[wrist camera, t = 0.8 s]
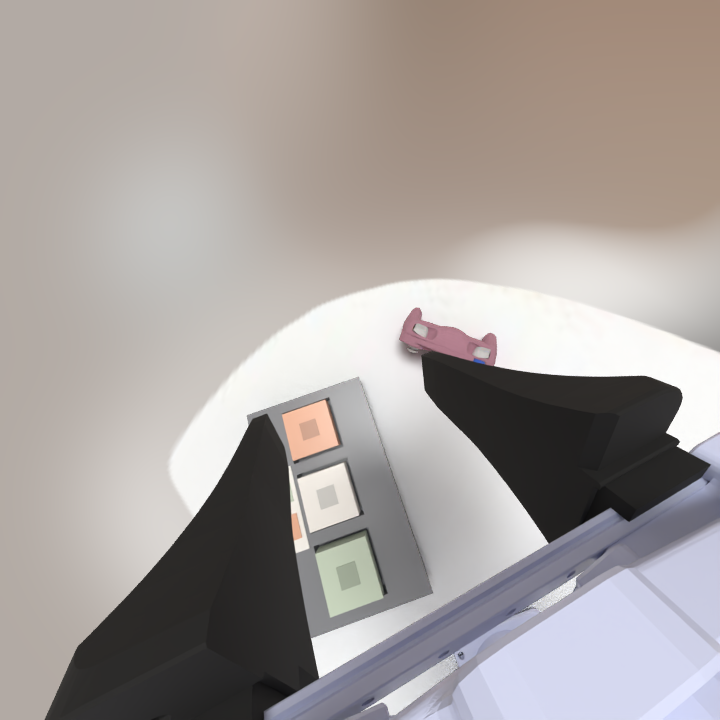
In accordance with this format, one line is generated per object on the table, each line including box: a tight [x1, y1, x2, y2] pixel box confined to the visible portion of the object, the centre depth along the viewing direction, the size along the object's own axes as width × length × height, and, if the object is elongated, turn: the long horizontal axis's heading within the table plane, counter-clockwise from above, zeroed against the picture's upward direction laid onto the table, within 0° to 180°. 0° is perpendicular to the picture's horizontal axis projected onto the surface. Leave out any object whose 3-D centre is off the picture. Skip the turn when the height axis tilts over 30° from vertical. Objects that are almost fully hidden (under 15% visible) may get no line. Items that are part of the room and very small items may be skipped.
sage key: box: [315, 530, 384, 618], centre depth 21 cm, size 4×4×2 cm
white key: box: [297, 461, 360, 533], centre depth 23 cm, size 4×4×2 cm
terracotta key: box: [282, 400, 341, 461], centre depth 25 cm, size 4×4×2 cm
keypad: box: [247, 377, 433, 638], centre depth 24 cm, size 19×12×3 cm, turn 18°
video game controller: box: [399, 308, 497, 366], centre depth 27 cm, size 10×5×7 cm
